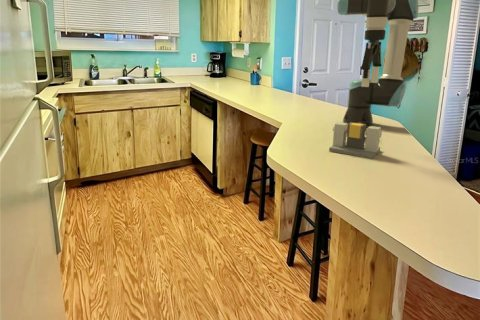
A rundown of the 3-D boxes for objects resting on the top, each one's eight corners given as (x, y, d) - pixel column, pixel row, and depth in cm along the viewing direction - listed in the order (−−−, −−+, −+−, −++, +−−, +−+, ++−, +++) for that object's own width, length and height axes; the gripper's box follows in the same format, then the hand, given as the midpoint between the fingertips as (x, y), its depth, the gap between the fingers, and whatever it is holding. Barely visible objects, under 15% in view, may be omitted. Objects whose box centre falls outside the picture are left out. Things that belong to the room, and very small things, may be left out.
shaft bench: (337, 144, 157) (339, 120, 153) (381, 151, 147) (385, 125, 144) (327, 151, 147) (329, 125, 144) (374, 158, 138) (377, 131, 134)
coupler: (349, 134, 149) (350, 122, 147) (364, 136, 145) (366, 124, 144) (346, 136, 145) (347, 124, 144) (361, 138, 142) (363, 125, 141)
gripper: (373, 29, 153) (368, 80, 161) (356, 29, 134) (351, 87, 141) (392, 29, 150) (386, 81, 157) (377, 29, 130) (370, 89, 137)
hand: (369, 84), depth 149 cm, fingers open, 13 cm apart
